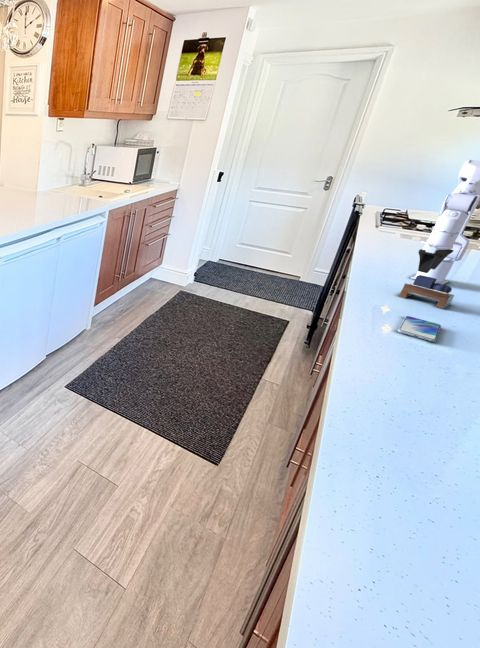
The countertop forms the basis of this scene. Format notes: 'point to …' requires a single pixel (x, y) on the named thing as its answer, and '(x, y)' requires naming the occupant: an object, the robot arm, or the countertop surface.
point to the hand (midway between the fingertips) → (426, 270)
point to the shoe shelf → (427, 294)
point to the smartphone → (420, 328)
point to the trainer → (431, 284)
